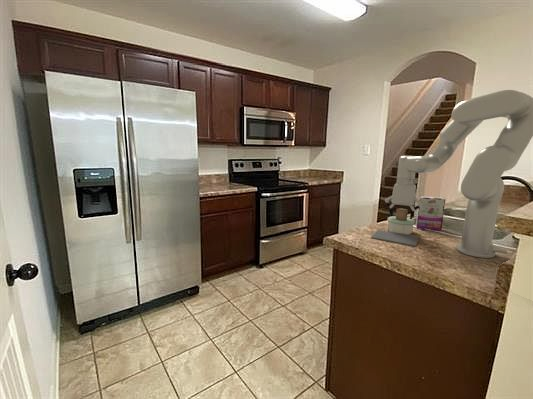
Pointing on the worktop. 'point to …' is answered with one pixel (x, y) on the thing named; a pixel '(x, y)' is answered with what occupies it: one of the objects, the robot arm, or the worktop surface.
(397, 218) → the lid
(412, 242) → the mat
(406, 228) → the bowl
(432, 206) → the candy bar box
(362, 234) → the worktop surface
